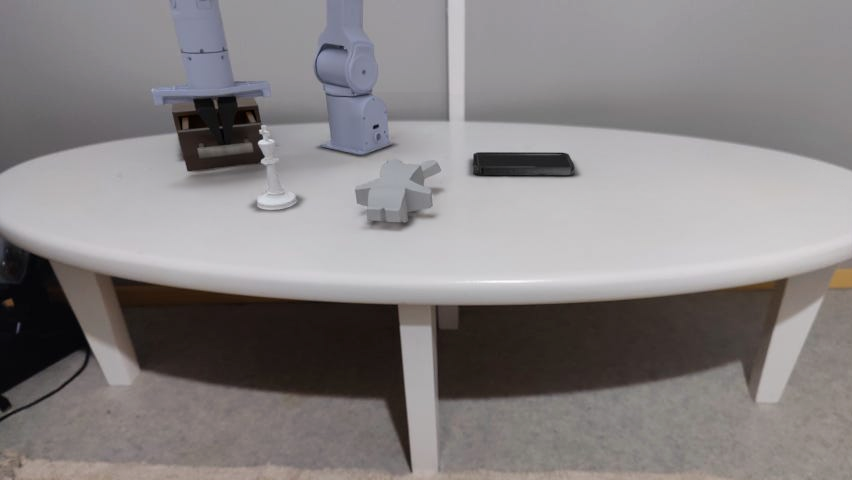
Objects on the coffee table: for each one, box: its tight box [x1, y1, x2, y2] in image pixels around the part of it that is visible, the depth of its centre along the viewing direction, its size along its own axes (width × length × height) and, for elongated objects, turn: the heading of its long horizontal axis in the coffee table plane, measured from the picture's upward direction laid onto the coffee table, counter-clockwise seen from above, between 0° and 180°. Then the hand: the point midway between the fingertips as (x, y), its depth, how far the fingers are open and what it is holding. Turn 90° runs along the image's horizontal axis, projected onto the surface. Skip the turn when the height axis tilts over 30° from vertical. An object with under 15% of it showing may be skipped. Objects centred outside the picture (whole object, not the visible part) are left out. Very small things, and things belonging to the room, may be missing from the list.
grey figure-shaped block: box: [354, 157, 442, 223], centre depth 71 cm, size 10×5×15 cm
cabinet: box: [171, 94, 262, 159], centre depth 95 cm, size 15×12×7 cm
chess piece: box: [256, 124, 298, 211], centre depth 70 cm, size 5×5×10 cm
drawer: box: [177, 110, 265, 173], centre depth 85 cm, size 19×11×6 cm, turn 25°
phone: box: [472, 151, 575, 176], centre depth 86 cm, size 8×1×15 cm
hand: (226, 152), depth 80 cm, fingers closed, pressing on drawer
